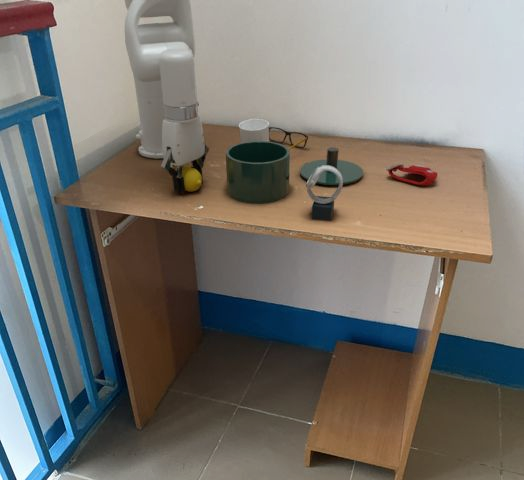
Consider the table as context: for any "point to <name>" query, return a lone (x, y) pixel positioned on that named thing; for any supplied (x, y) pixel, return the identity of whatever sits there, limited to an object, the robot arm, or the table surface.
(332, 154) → the lid
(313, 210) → the watch
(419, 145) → the table surface
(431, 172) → the tracker holder
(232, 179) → the pot
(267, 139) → the white cup
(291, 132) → the eyeglasses
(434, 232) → the table surface
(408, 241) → the table surface
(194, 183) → the lemon
